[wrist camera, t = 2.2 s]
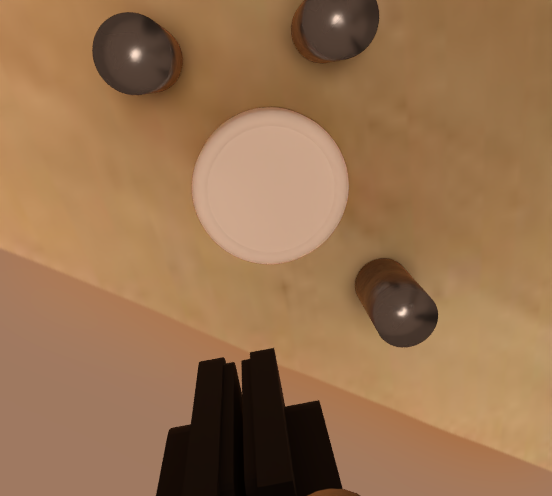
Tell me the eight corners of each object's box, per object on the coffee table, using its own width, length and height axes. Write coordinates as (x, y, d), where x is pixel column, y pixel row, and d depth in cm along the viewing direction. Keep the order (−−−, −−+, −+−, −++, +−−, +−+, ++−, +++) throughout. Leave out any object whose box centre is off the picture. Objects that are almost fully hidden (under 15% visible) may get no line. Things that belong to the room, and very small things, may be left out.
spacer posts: (381, -16, 32) (413, -37, 26) (409, 302, 39) (439, 341, 33) (110, 30, 31) (83, 19, 26) (188, 343, 38) (180, 389, 33)
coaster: (245, 274, 37) (246, 293, 34) (166, 157, 34) (158, 166, 31) (364, 203, 36) (377, 216, 33) (294, 77, 33) (300, 76, 30)
